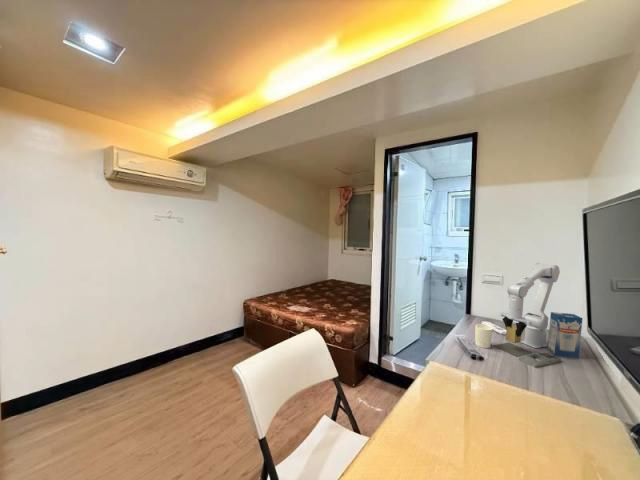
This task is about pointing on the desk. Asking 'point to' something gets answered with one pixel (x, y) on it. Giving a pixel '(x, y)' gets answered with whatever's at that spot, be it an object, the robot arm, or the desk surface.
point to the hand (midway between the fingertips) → (513, 334)
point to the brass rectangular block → (512, 334)
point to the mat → (513, 349)
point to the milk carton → (564, 335)
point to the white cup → (483, 335)
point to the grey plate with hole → (543, 356)
